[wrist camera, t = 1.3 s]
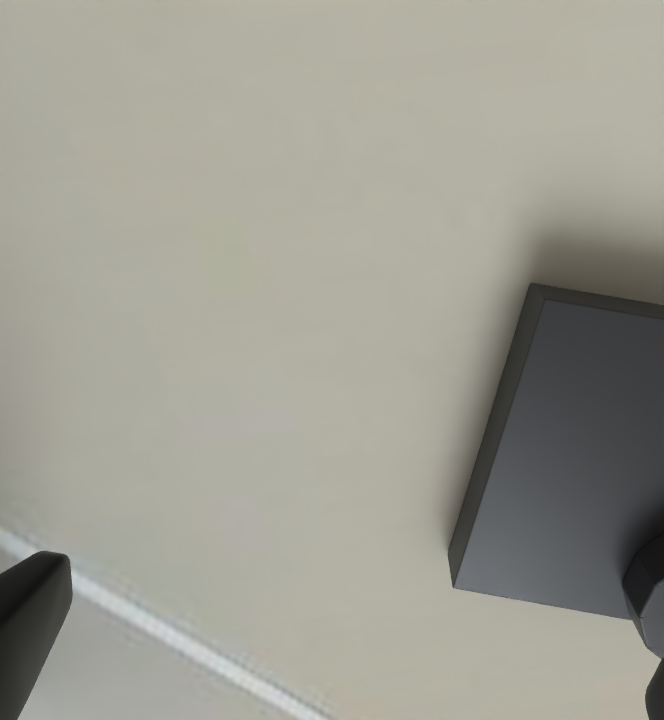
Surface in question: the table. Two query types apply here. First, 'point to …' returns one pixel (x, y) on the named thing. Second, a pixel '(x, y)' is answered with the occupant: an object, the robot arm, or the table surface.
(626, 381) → the button base
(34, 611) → the robot arm
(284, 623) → the table surface
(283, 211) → the table surface
